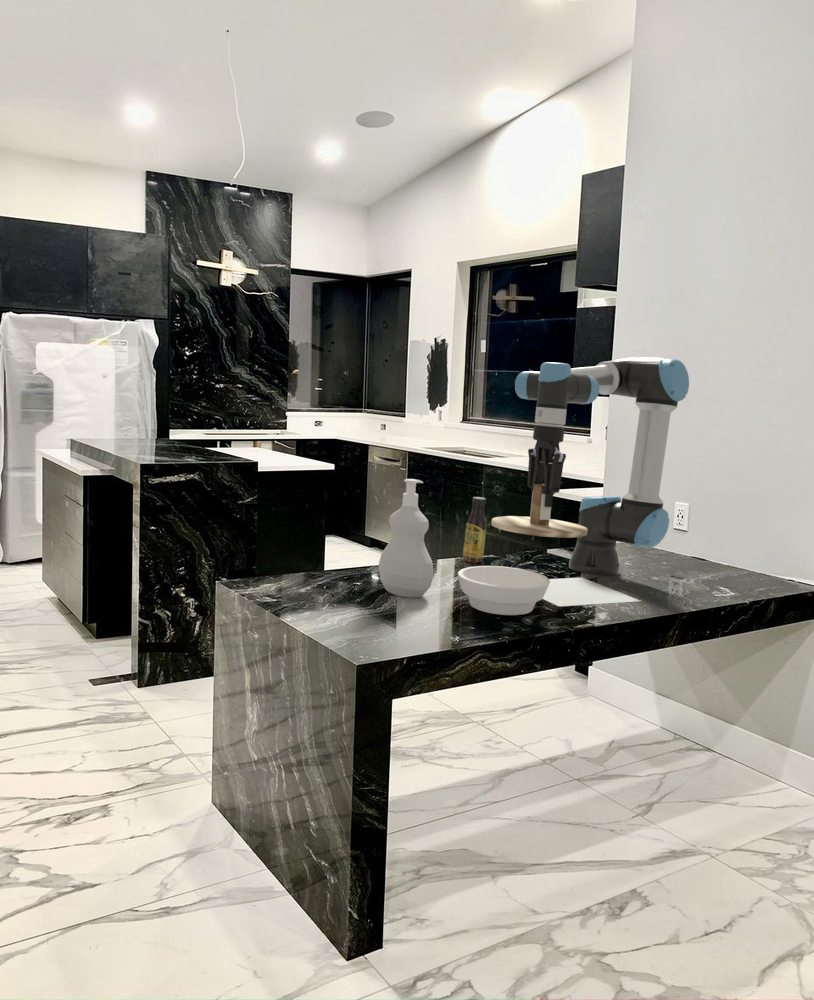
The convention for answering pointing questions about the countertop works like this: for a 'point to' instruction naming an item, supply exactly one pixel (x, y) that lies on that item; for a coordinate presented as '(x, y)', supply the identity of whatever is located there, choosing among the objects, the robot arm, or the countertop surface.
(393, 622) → the countertop surface
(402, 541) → the soap bottle
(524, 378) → the robot arm
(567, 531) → the lid
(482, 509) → the sauce bottle
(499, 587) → the bowl
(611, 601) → the mat
